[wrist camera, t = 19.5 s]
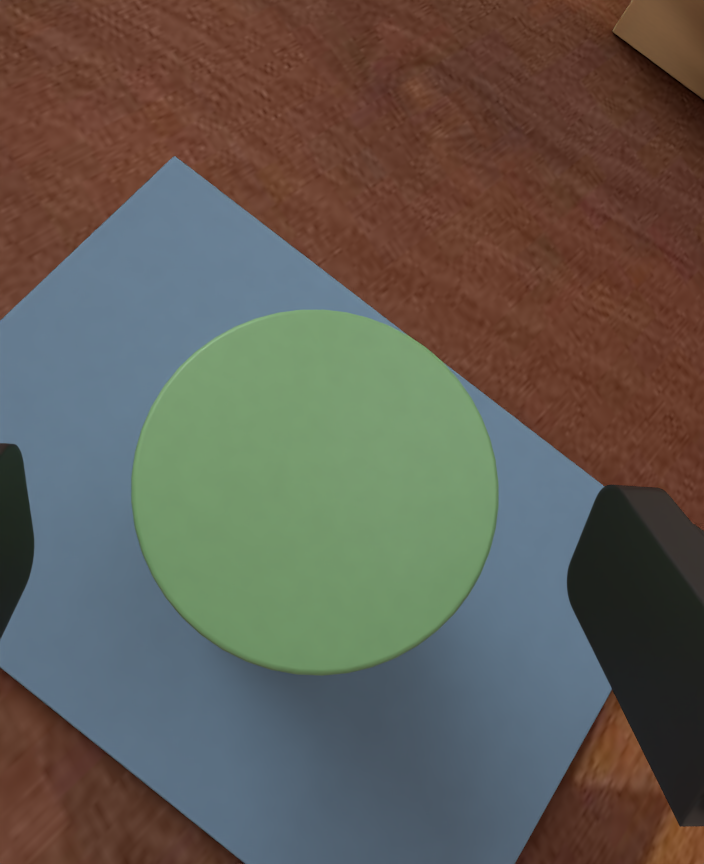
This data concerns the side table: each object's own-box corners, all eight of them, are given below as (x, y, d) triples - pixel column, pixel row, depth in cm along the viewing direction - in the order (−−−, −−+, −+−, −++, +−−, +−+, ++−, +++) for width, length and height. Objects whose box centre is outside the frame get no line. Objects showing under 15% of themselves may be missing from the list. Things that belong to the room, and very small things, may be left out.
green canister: (419, 517, 19) (565, 451, 10) (303, 678, 17) (360, 762, 9) (271, 402, 19) (292, 241, 10) (144, 552, 17) (43, 511, 9)
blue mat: (679, 552, 20) (689, 551, 20) (426, 1002, 16) (432, 1014, 16) (175, 164, 21) (174, 154, 20) (-188, 510, 17) (-200, 508, 16)
